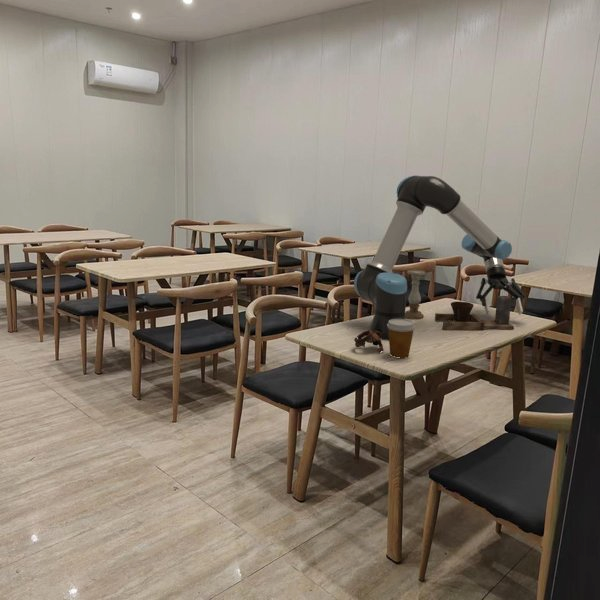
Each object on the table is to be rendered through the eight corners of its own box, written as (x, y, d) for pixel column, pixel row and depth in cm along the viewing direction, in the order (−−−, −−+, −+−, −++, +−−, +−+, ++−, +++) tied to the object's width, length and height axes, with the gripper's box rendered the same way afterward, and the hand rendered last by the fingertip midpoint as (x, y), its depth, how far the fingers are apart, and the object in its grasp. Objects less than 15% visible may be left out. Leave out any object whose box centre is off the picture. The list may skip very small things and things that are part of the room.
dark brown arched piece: (380, 357, 186) (368, 337, 184) (358, 364, 192) (347, 344, 190) (392, 340, 195) (381, 321, 194) (371, 347, 201) (360, 328, 199)
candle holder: (400, 314, 242) (402, 269, 237) (418, 313, 243) (421, 269, 239) (408, 319, 233) (410, 273, 229) (427, 319, 235) (430, 272, 230)
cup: (478, 327, 221) (476, 303, 219) (456, 330, 221) (454, 306, 219) (470, 322, 230) (468, 299, 228) (449, 325, 229) (447, 302, 227)
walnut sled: (442, 329, 219) (445, 299, 216) (434, 320, 232) (436, 292, 230) (515, 330, 218) (518, 301, 216) (503, 321, 232) (506, 293, 229)
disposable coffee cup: (418, 355, 187) (420, 321, 185) (404, 362, 180) (406, 327, 178) (394, 349, 193) (396, 316, 191) (380, 355, 186) (381, 322, 184)
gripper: (521, 275, 238) (531, 317, 227) (464, 274, 238) (471, 316, 227) (527, 265, 231) (538, 308, 220) (468, 264, 232) (476, 307, 220)
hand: (504, 312), depth 223 cm, fingers open, 13 cm apart
